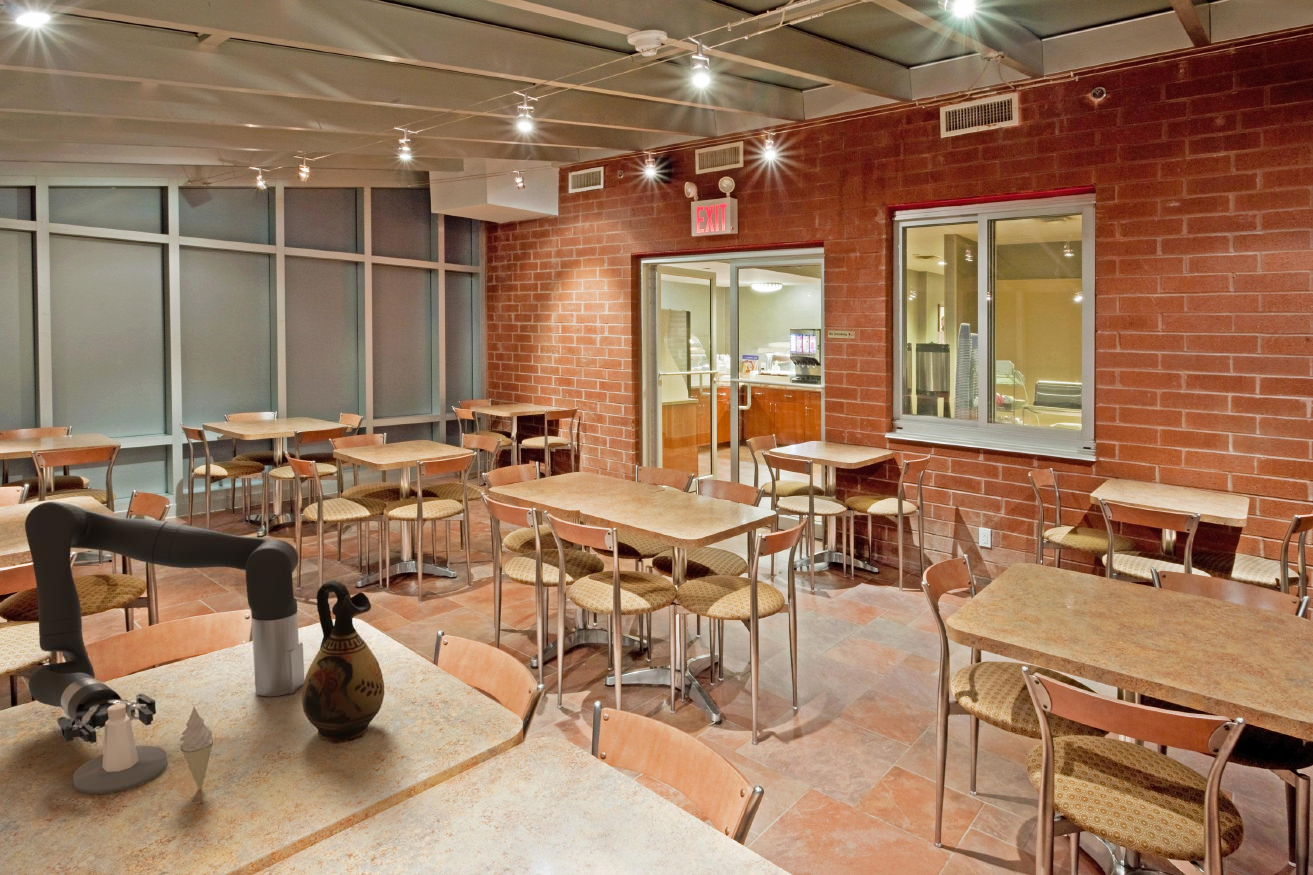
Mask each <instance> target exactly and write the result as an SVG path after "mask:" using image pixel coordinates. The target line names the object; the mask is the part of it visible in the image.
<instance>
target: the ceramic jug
mask: <svg viewBox="0 0 1313 875" xmlns="http://www.w3.org/2000/svg"><path fill="white" fill-rule="evenodd" d="M346 586H347V585H345V584H343V583H342V582H339V581H336V580H331V581H328V582H326V583H323V584H322V585H321V586H320V587H319V588H318V590H317V592H316V610H317V613H318V618H319V623H320V627H321V630H322V635H323V637H322V640H321V643H320V647H319V650H318V651H317V653H316V654H315V656H314V658H313V660H312V662H311V664H310V665H309V668H308V671H307V672H306V675H305V677H304V680H305V681H304V683H303V684H302V691H301V705H302V711H303V713H304V715H305V716H306V718H307V720H308V721H309V723H310V724H312V726H313V727H314V728H316V729H317V735H318V737H319V738H320V739H321V740H324V741H326V742H329V743H333V744H338V743H339V744H340V743H343V742H348V741H349V742H351V741H354V740H357V739H359V738H362V737H363V735H364V734H366V733H367V732H368V730H369V725H370V723H371V722H372V721H373V719H374V718H375V717H376V715H377V714H378V713H379V711H380V710H381V708H382V705H383V702H384V697H385V683H384V681H385V680H384V678H383V673H382V669H381V667H380V663H379V661H378V660H377V657H376V656H375V655H374V652H372V650H371V649H370V647H369V645H368V644H367V643H366V642H365V640H364V639H363V638H362V637H361V635H360V634H359V633H358V631H357V629H356V628H355V627H354V624H353V623H354V622H353V618H354V617H357V616H358V615H362V614H365V613H368V612H370V611H371V609H372V604H371V602H370V599H369V597H368V596H367V595H366V594H365V593H364V592H362V591H360V592H358V593H356V594H355V595H353V596H352V597H351V594H350V591H349V590H348V588H347V587H346ZM330 593H334V594H335V597H336V602H335V603H334V605H333V606H332V607H331V608H330V603H329V598H330ZM331 610H332V612H331ZM332 614H333V615H334V621H333V618H332Z"/></svg>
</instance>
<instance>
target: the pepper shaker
mask: <svg viewBox="0 0 1313 875" xmlns="http://www.w3.org/2000/svg"><path fill="white" fill-rule="evenodd" d="M125 709H126V705H125V704H115V705H112V706H110V707H108V709H107V711H108V717H109V720H108V721H106V722H105V726H104V735H103V751H102V754H103V769H104V770H105V771H106V772H119V771H122V770H125V769H128V768H131V767H132V766H134V765H135V764H136V763H137V762H138V756H137V751H136V746H137V745H136V741H135V736H134V731H133V725H132V721H130V718H129V717H128V716H127V713H126V710H125Z"/></svg>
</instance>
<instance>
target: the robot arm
mask: <svg viewBox="0 0 1313 875" xmlns="http://www.w3.org/2000/svg"><path fill="white" fill-rule="evenodd" d="M24 522H25V523H24V530H25V535H26V540H27V544H28V546H29V547H28V548H29V551H30V556H31V561H32V566H33V572H34V577H35V583H36V584H35V585H36V594H37V606H38V608H37V609H38V610H37V611H38V636H39V637H38V638H39V639H38V640H39V642H38V643H39V648H40V650H42V651H43V652H48V653H52V652H56V653H57V652H58V653H64V654H66V655H67V656H68V658H69V661H63V662H56V663H50V664H49V663H48V664H45V665H41V666H39V667H38V668H36V669H35V670H34V671H33V672H32V673H31V675H30V677H29V680H28V690H29V692H30V694H31V696H32V697H33V698H34V700H36V701H37V702H39V703H40V704H43V705H47V706H52V707H60V708H61V709H62V710H63V711H64V713H65V714H66V716H68V718H67V717H66V716H61V717H58V718H57V730H58V734H59V735H60V736H61V738H62V739H63V740H64V742H67V743H69V742H72V741H73V740H74V739H75V738H78V739H80V740H83V741H84V742H85V743H90V744H95V743H97V740H98V739H97V732H96V730H98V729H99V730H100V729H102V728H105V722H106V721H108V720H109V717H108V711H107V709H108V707H110V706H112V705H115V704H125V705H126V709H125V710H126V716H128V717H129V718H130V721H131V722H132V721H133V720H139V721H140V723H142V724H143V725H145V726H149V725H152V722H154V715H155V714H157V709H156V700H155V699H153V698H152V697H151V696H148V695H146V694H144V693H138V694H136V698H135V699H131V700H127V699H122V697H121V696H120V695H119V694H118V692H116V691H115V690H113V689H112V688H111V687H110V686H108V685H107V683H104V682H102V681H100V680H98V679H96V676H95V669H94V667H93V663H92V662H91V660H90V657H89V654H88V652H87V649H86V646H85V642H84V639H83V627H82V626H83V621H82V620H83V619H82V608H81V602H80V597H79V593H78V589H77V588H76V584H75V581H74V577H73V572H72V567H71V549H85V550H87V549H88V550H94V551H95V550H97V551H106V552H110V553H113V554H117V555H120V556H123V557H126V558H128V559H133V560H136V561H139V562H143V563H146V564H147V563H148V564H152V565H157V566H162V567H163V566H165V567H169V568H176V569H177V568H178V569H204V568H231V569H236V570H242V571H245V583H246V593H247V594H246V596H247V603H248V607H249V609H250V612H251V613H250V615H251V616H250V617H251V632H252V634H251V636H252V650H253V652H252V654H253V668H254V669H253V670H254V685H255V686H254V687H255V693H256V695H258V696H261V697H278V696H283V695H287V694H288V695H290V694H291V695H292V694H294V693H295V692H296V691H297V690H298V689H299V688H300V687H301V686H303V684H304V681H305V664H304V663H305V662H304V644H303V642H302V641H301V642H300V641H299V620H298V619H299V617H298V602H297V598H295V596H294V594H295V593H294V585H293V582H294V581H293V572H294V571H295V569H296V568H297V566H298V564H299V554H298V552H297V549H296V548H295V547H294V546H293V545H292V544H290V543H289V542H288V541H285V540H282V539H276V538H267V537H254V536H253V537H252V536H243V535H235V534H229V533H224V532H222V531H221V532H220V531H216V530H212V529H206V528H201V527H197V526H191V525H186V524H182V523H176V522H171V521H165V520H159V519H158V520H157V519H146V518H145V519H144V518H123V517H117V516H116V517H115V516H112V515H108V514H103V513H99V512H96V511H92V510H88V509H85V508H82V507H79V506H77V505H73V504H71V503H70V504H69V503H64V502H59V501H45V502H43V503H40V504H37V505H36V506H34V507H33V508H32V509H31V510H30V512H28V514H27V516H26V518H25V521H24ZM136 710H137V712H138V713H136ZM75 725H76V726H75Z"/></svg>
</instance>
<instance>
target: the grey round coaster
mask: <svg viewBox="0 0 1313 875" xmlns="http://www.w3.org/2000/svg"><path fill="white" fill-rule="evenodd" d="M136 751H137V756H138V762H137V763H136V764H135V765H134V766H132V767H131V768H128V769H125V770H122V771H119V772H106V771H105V770H104V769H103V753H102V754H100V755H97V756H95V757H94V758H91V759H89V760H87V761H86V762H85V763H83V764H82V765H80V766H79V767H78V768H77V769H76V770H75V771H74V773H73V776H72V779H73V787H74V789H75V791H77V792H78V791H79V792H78V793H81V794H84V795H92V794H99V795H105V794H104V793H109V794H112V793H111V792H115V793H119V792H118V791H120V792H123V791H122V790H124V791H127V790H130V789H129V788H131V789H133V788H136V787H138V786H141V785H143V784H142V783H144V784H145V783H147V782H150V781H151V780H153V779H154V778H157V777H158V776H159V775H161V774H162V773H163V772H164V771H165V770H166V768H167V766H168V754H167V751H166V750H165V749H163V748H161V747H159V746H156V745H155V746H153V745H138V746H137V745H136ZM140 784H141V785H140ZM132 787H133V788H132ZM126 789H127V790H126ZM102 793H103V794H102Z"/></svg>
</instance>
